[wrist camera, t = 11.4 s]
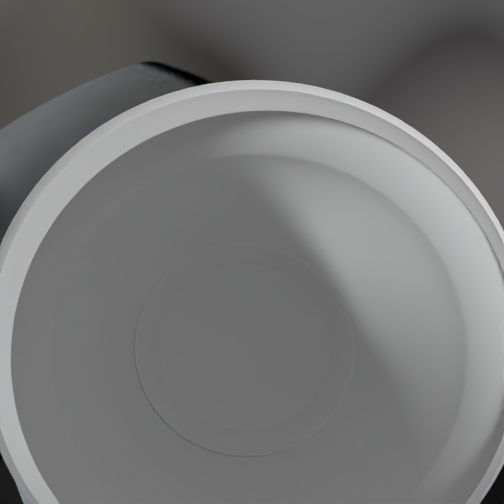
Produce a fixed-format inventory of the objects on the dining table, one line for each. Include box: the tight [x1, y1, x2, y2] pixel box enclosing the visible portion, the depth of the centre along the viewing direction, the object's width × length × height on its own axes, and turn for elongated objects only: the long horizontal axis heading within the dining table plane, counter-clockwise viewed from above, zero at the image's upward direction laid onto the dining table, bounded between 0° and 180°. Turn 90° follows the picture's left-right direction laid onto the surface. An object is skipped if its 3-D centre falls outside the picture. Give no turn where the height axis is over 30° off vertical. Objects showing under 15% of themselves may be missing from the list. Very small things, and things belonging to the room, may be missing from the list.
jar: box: [0, 80, 504, 504], centre depth 11 cm, size 11×10×15 cm
